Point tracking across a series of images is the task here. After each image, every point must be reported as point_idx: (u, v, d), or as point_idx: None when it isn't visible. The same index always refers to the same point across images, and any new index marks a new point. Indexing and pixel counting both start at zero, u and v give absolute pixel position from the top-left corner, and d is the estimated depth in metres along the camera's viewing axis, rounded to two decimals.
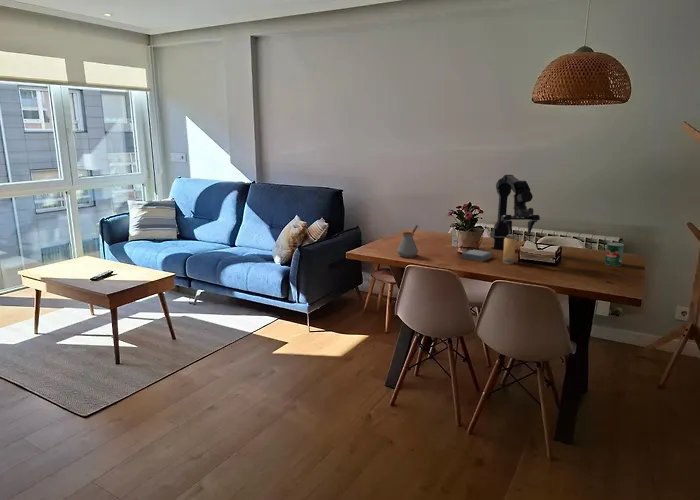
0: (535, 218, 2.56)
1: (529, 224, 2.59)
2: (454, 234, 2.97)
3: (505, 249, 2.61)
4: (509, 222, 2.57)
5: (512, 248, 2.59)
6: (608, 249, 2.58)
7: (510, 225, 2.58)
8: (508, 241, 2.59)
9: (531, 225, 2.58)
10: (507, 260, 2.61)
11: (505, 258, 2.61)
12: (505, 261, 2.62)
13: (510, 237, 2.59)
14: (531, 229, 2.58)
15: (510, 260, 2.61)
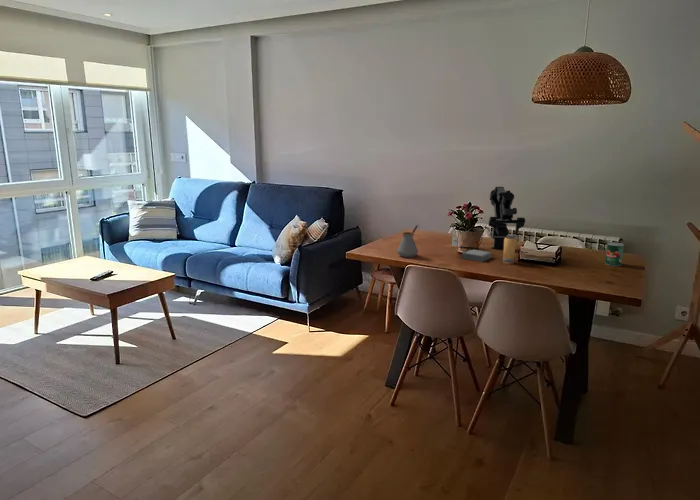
0: (520, 219, 2.69)
1: (516, 227, 2.71)
2: (454, 234, 2.97)
3: (505, 249, 2.61)
4: (495, 222, 2.70)
5: (512, 248, 2.59)
6: (608, 249, 2.58)
7: (497, 225, 2.70)
8: (508, 241, 2.59)
9: (517, 226, 2.69)
10: (507, 260, 2.61)
11: (505, 258, 2.61)
12: (505, 261, 2.62)
13: (510, 237, 2.59)
14: None
15: (510, 260, 2.61)
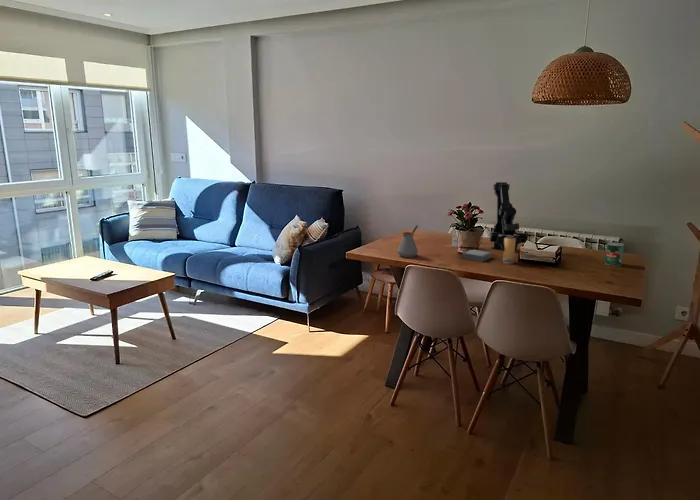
0: (523, 235, 2.62)
1: (515, 242, 2.63)
2: (454, 234, 2.97)
3: (505, 249, 2.61)
4: (500, 238, 2.63)
5: (512, 248, 2.59)
6: (608, 249, 2.58)
7: (501, 241, 2.63)
8: (508, 240, 2.59)
9: (516, 242, 2.62)
10: (507, 260, 2.61)
11: (505, 258, 2.61)
12: (505, 261, 2.62)
13: (510, 237, 2.59)
14: None
15: (510, 260, 2.60)
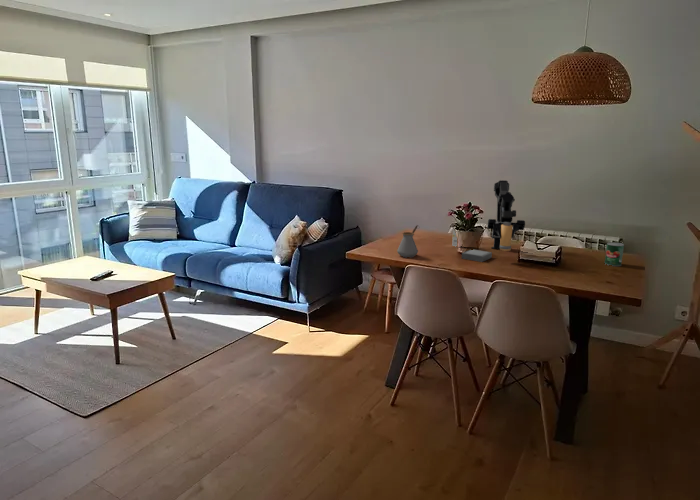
0: (520, 222, 2.60)
1: (512, 229, 2.62)
2: (454, 234, 2.97)
3: (502, 236, 2.60)
4: (497, 225, 2.62)
5: (509, 235, 2.58)
6: (608, 249, 2.58)
7: (498, 228, 2.62)
8: (504, 227, 2.58)
9: (513, 229, 2.60)
10: (504, 247, 2.60)
11: (502, 245, 2.61)
12: (502, 248, 2.61)
13: (507, 224, 2.58)
14: None
15: (507, 247, 2.60)
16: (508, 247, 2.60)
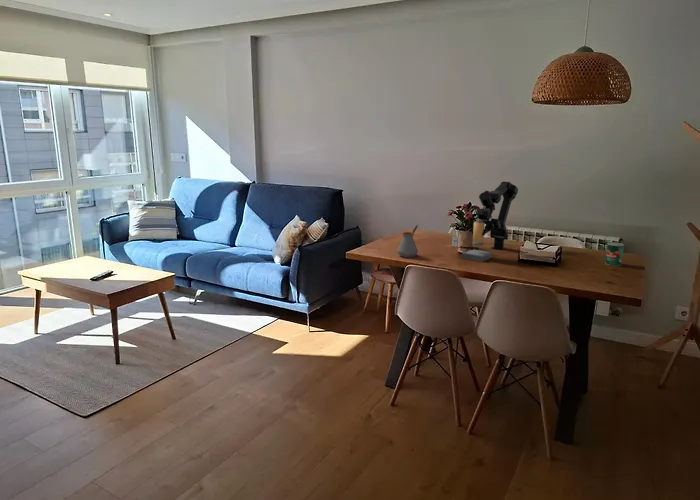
0: (493, 220, 2.65)
1: None
2: (454, 234, 2.97)
3: (473, 232, 2.69)
4: (472, 222, 2.72)
5: (478, 232, 2.66)
6: (608, 249, 2.58)
7: (472, 225, 2.71)
8: (474, 224, 2.67)
9: (486, 227, 2.67)
10: (474, 243, 2.69)
11: (473, 241, 2.70)
12: (473, 244, 2.70)
13: (478, 221, 2.67)
14: (485, 230, 2.66)
15: (476, 243, 2.68)
16: (478, 243, 2.68)
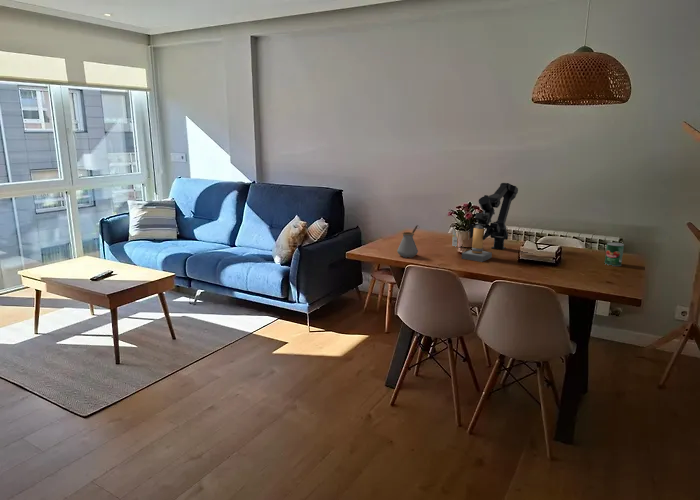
0: (492, 224, 2.66)
1: None
2: (454, 234, 2.97)
3: (473, 238, 2.71)
4: (470, 226, 2.73)
5: (478, 237, 2.68)
6: (608, 249, 2.58)
7: (471, 229, 2.72)
8: (474, 230, 2.69)
9: (486, 231, 2.67)
10: (473, 249, 2.70)
11: (472, 247, 2.71)
12: (472, 250, 2.71)
13: (477, 227, 2.69)
14: (485, 234, 2.66)
15: (475, 249, 2.69)
16: (477, 249, 2.69)
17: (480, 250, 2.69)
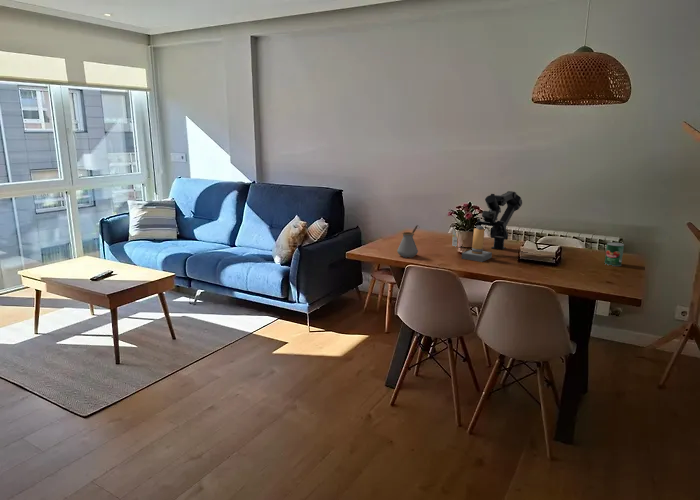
0: (499, 222, 2.72)
1: None
2: (454, 234, 2.97)
3: (473, 238, 2.70)
4: None
5: (478, 238, 2.67)
6: (608, 249, 2.58)
7: None
8: (474, 230, 2.68)
9: (495, 229, 2.73)
10: (473, 249, 2.70)
11: (472, 247, 2.71)
12: (472, 250, 2.71)
13: (478, 227, 2.68)
14: (494, 232, 2.72)
15: (475, 250, 2.69)
16: (477, 250, 2.69)
17: (480, 251, 2.69)
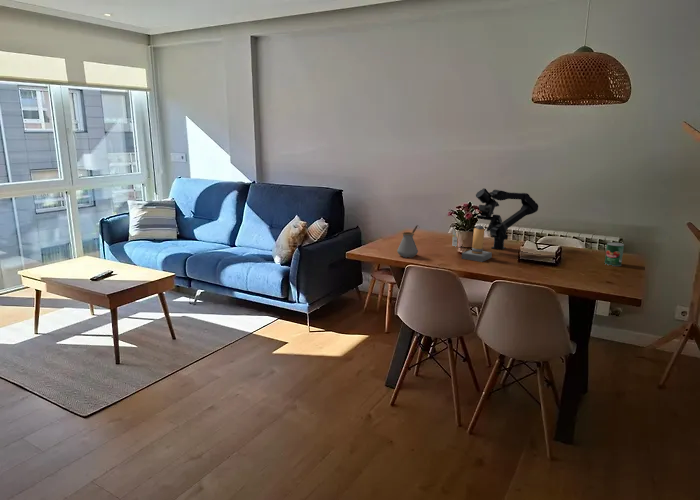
0: (494, 216, 2.77)
1: None
2: (454, 234, 2.97)
3: (473, 238, 2.71)
4: None
5: (477, 238, 2.68)
6: (608, 249, 2.58)
7: None
8: (474, 230, 2.68)
9: (490, 223, 2.77)
10: (473, 249, 2.70)
11: (472, 247, 2.71)
12: (472, 250, 2.71)
13: (478, 227, 2.68)
14: (489, 226, 2.77)
15: (475, 249, 2.69)
16: (477, 250, 2.69)
17: (480, 250, 2.69)
